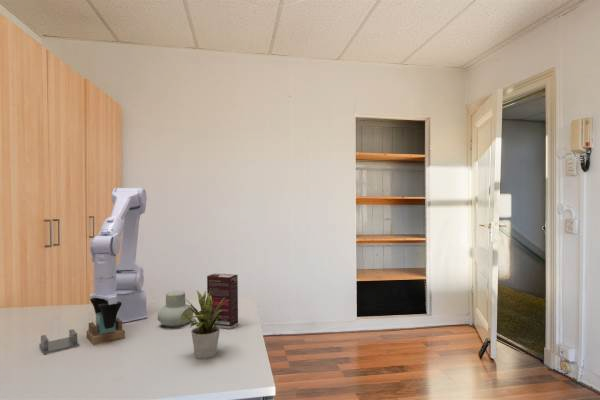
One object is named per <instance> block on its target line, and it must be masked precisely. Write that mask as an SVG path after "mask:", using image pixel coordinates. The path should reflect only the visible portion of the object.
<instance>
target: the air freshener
mask: <svg viewBox="0 0 600 400" xmlns="http://www.w3.org/2000/svg"><path fill="white" fill-rule="evenodd" d="M177 297H180V298H177ZM183 298H184V299H183ZM185 299H186V291H183V290H171V291H168V292H167V293H166V294H165V306H163V307H162V308H160V310H159V311H158V313H157V320H158V322H159V323H160V324H162V325H164V326H166V327H182V326H184V325H186V324H187V323H189V322H191V321H192V319H190V320H191V321H190V320H189V319H186V320H183V321H181V320H182V319H183V318H186V317H185V316H184V315H186V316H187V317H192V316H194V312H193V311H192V310H191V309H190V308H188V307H190V306H189V305H190V304H186V300H185ZM185 307H186V308H185ZM181 314H183V315H181ZM180 321H181V322H180Z"/></svg>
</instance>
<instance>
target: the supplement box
mask: <svg viewBox="0 0 600 400" xmlns="http://www.w3.org/2000/svg"><path fill="white" fill-rule="evenodd" d="M238 280H239V279H238V274H231V273H228V274H227V273H216V272H215V273H212V274H208V275H206V281H207V282H206V294H207V293H208V294H209V298H210V295H211V297H212V308H211V315H210V319H211V318H212V316H213V314H214V312H215V310H216V308H217V307H219V306H220V305H221V304H222V303H223V304H222V305H221V306H220V307H219V309H218V311H219V310H222V311H220V312H219V313H218V314H217V315H216V316H220V318H219V319H218V320H217V321H216V322H215V323H214V325H215V324H216V323H217V322H219V321H221V320H223V321H221V322H219V323H218V324H217V325H216V326H217V327H219V328H220V329H228V330H231V329H234V328H235V327H237V326H238V325H239V297H238V296H239V290H238V289H239V288H238V287H239V285H238V284H239V283H238V282H239V281H238ZM209 292H210V293H209ZM222 300H223V301H222ZM227 300H228V301H227ZM221 301H222V302H221ZM225 301H226V302H225ZM220 302H221V304H220ZM219 304H220V305H219ZM218 305H219V306H218ZM218 311H217V312H218ZM210 319H209V321H210ZM224 319H226V320H227V321H226V320H224ZM210 323H211V322H210ZM214 325H213V326H214Z"/></svg>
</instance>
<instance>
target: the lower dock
mask: <svg viewBox="0 0 600 400" xmlns="http://www.w3.org/2000/svg"><path fill="white" fill-rule="evenodd" d="M68 332H69V333H68V334H69V336H68V337H63V338H59V339H58V338H57V339H54V340H50V341H49V338H48V336H47V335H46V334H44V335H40V343H38V347H39V349H40V350H41V352H42V354H43V355H47V354H48V355H49V354H52V353H53V354H54V353H56V352H61V350H62V351H65V349H66V350H69V348H70V349H73V347H74V348H78V346H79V347H80V343H79V342H78V332H77V331H76V330H75V329H74V328H73V329H72V328H71V329H69V331H68Z"/></svg>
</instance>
